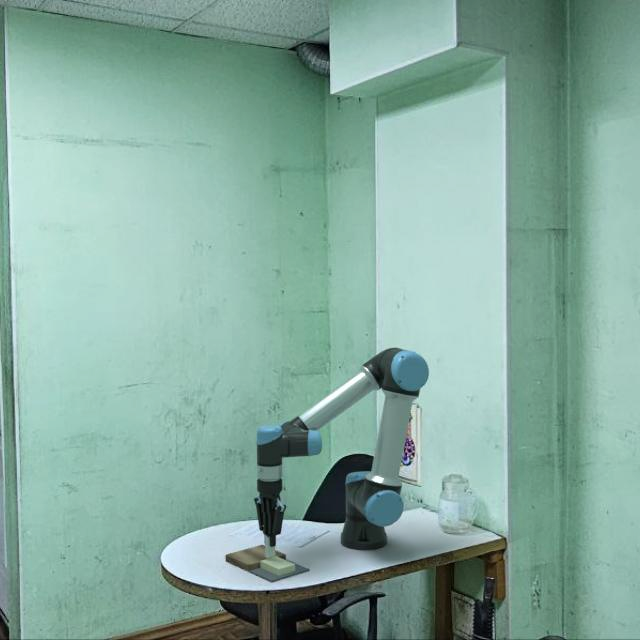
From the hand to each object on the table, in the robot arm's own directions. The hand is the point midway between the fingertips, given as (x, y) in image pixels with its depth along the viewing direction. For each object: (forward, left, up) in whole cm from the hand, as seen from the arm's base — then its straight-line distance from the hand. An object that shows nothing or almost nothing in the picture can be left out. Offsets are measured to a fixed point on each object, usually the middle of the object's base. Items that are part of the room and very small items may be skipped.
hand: (270, 556), depth 249 cm
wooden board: (0, -7, -3) cm, 8 cm away
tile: (0, +4, -3) cm, 5 cm away
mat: (0, +4, -3) cm, 6 cm away
